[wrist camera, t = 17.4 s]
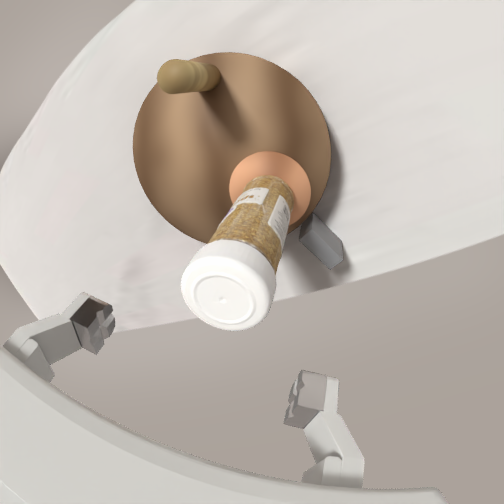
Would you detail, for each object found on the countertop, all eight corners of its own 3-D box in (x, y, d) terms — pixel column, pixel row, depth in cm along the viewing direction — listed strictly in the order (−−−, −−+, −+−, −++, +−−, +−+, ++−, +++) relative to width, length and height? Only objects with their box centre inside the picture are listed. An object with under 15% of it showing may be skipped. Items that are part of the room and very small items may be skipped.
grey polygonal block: (341, 240, 29) (343, 260, 26) (329, 250, 30) (330, 269, 27) (313, 212, 28) (311, 229, 25) (301, 222, 29) (298, 240, 26)
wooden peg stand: (315, 40, 19) (313, 19, 12) (336, 234, 28) (339, 284, 21) (127, 84, 24) (72, 91, 17) (169, 242, 33) (133, 284, 26)
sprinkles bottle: (250, 166, 24) (183, 245, 13) (302, 184, 24) (284, 280, 13) (237, 214, 27) (174, 315, 15) (285, 230, 26) (255, 345, 15)
